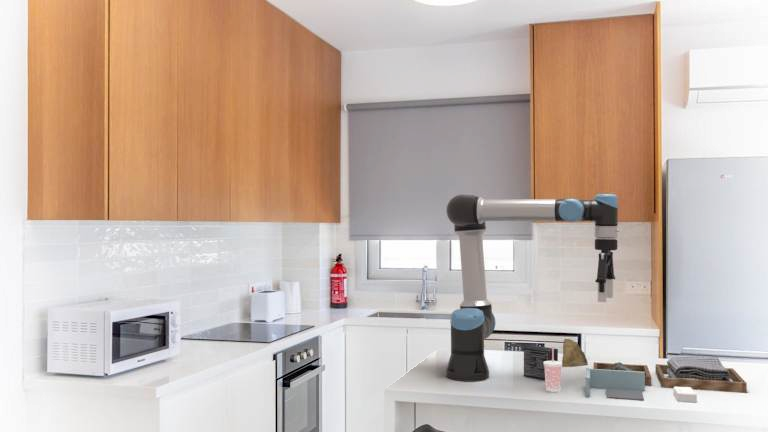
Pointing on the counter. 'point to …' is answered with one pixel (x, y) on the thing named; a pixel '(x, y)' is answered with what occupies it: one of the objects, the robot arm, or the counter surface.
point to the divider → (614, 380)
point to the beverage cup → (552, 374)
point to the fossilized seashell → (620, 367)
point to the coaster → (624, 394)
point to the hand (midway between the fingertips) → (605, 299)
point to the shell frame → (634, 367)
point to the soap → (685, 394)
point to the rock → (572, 354)
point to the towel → (697, 368)
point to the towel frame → (702, 381)
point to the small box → (537, 361)
